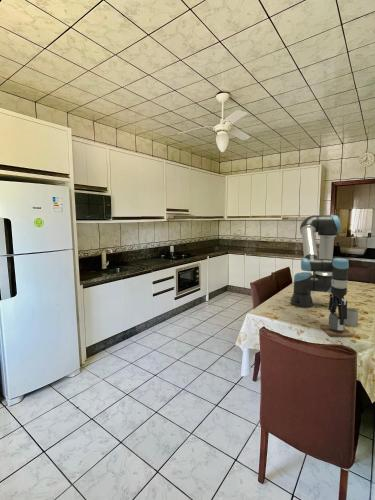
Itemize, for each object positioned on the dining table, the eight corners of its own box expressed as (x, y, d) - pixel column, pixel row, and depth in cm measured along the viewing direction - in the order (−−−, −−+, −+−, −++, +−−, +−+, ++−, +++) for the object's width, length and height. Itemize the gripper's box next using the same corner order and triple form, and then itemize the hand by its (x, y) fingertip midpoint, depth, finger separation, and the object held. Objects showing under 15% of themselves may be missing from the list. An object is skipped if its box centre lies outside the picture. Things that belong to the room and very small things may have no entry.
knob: (326, 324, 147) (327, 311, 146) (339, 324, 147) (340, 311, 146) (332, 330, 140) (333, 316, 139) (346, 330, 140) (347, 316, 139)
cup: (357, 328, 149) (358, 313, 148) (337, 324, 154) (338, 310, 153) (357, 323, 155) (358, 309, 154) (338, 320, 160) (338, 306, 159)
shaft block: (319, 327, 150) (320, 317, 149) (341, 327, 150) (341, 317, 149) (330, 336, 138) (331, 325, 138) (353, 337, 138) (354, 326, 137)
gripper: (323, 282, 151) (320, 319, 154) (342, 292, 131) (339, 335, 134) (336, 282, 151) (333, 319, 153) (357, 292, 131) (354, 335, 133)
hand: (336, 326), depth 144 cm, fingers closed on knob, 7 cm apart
